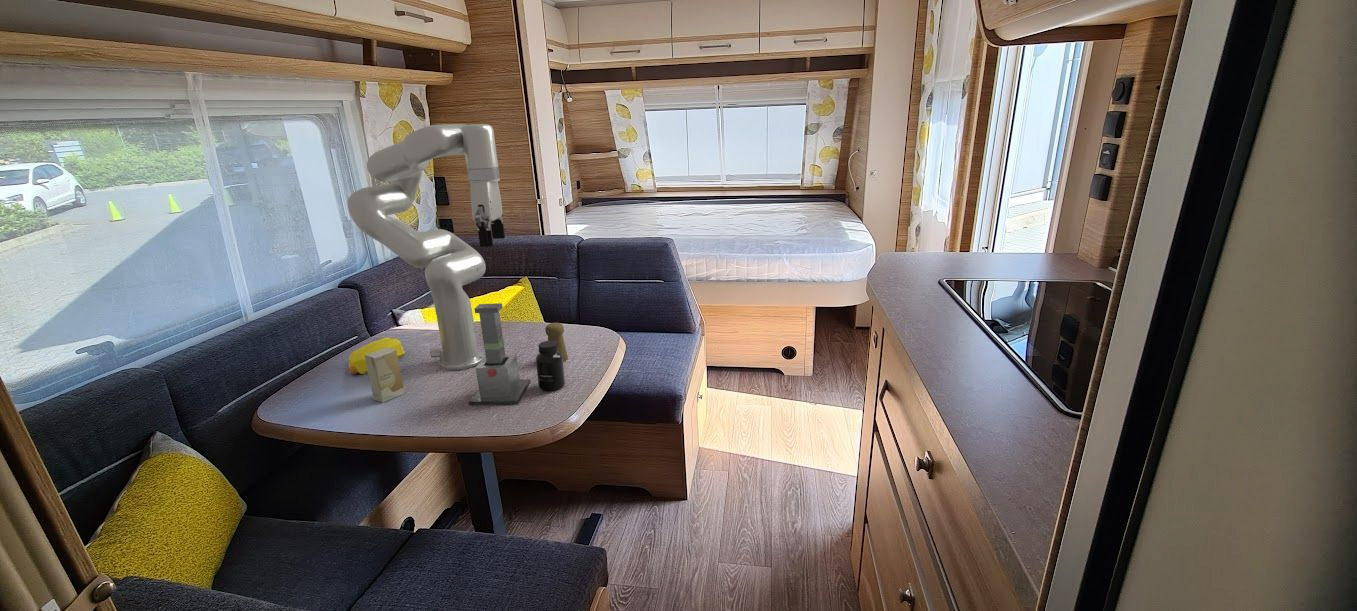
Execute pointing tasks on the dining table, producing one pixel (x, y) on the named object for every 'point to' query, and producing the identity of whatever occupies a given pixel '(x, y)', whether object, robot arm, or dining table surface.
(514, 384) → the stand base
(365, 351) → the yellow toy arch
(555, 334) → the olive knobbed figure
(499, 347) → the column
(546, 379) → the supplement bottle
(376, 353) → the skincare box
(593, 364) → the dining table surface
